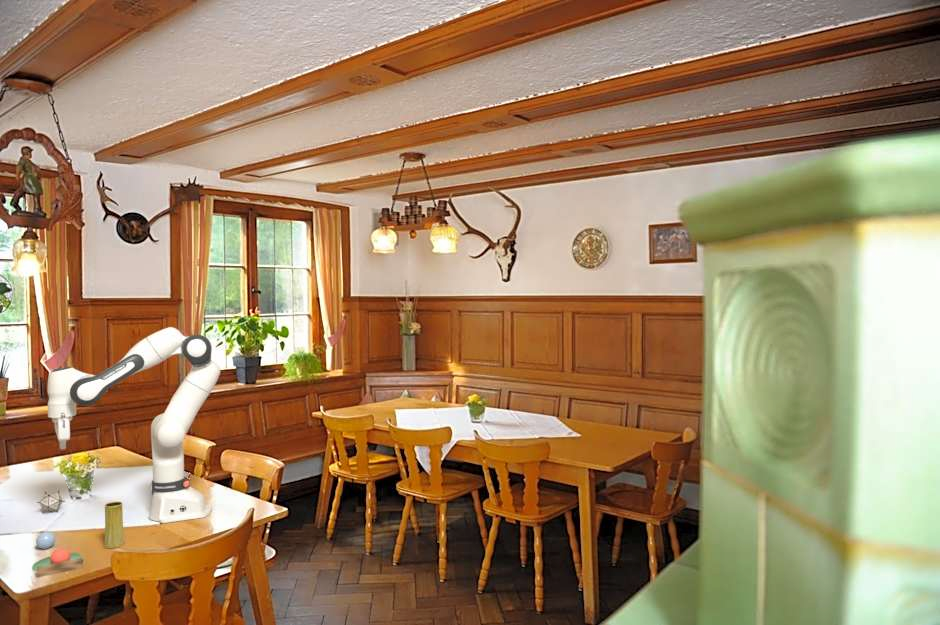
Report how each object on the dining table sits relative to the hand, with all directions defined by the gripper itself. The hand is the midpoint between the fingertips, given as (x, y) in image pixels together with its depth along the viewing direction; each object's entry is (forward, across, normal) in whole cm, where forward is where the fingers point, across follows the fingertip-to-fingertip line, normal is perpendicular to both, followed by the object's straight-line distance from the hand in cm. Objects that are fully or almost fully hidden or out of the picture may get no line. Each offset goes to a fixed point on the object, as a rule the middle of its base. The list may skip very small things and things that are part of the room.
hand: (62, 448), depth 237 cm
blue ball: (+26, -20, +6) cm, 34 cm away
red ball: (+26, -40, +3) cm, 48 cm away
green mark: (+29, -36, +3) cm, 47 cm away
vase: (+29, -31, -13) cm, 44 cm away
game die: (+29, +23, +3) cm, 37 cm away
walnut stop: (+29, -44, +3) cm, 53 cm away
